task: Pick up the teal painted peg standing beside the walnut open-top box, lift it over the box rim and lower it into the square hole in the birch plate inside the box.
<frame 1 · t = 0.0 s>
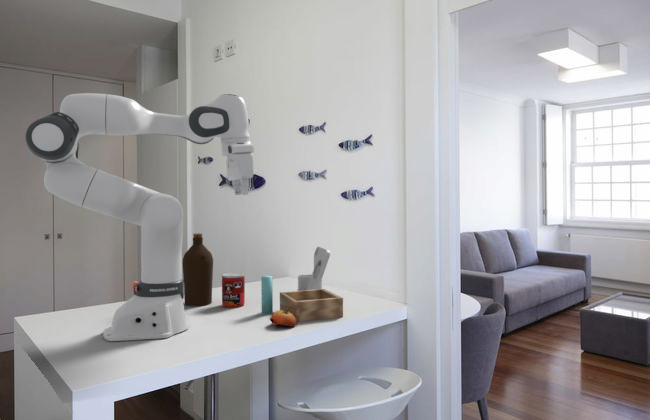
hand: (241, 194, 142), 39 cm above the table, tool pointing down, fingers open, 8 cm apart
box: (310, 313, 153), on the table
canned food: (233, 305, 164), on the table
phone holder: (313, 294, 183), on the table
tomato: (283, 326, 139), on the table
peg: (267, 312, 153), on the table
olive oil: (198, 303, 167), on the table
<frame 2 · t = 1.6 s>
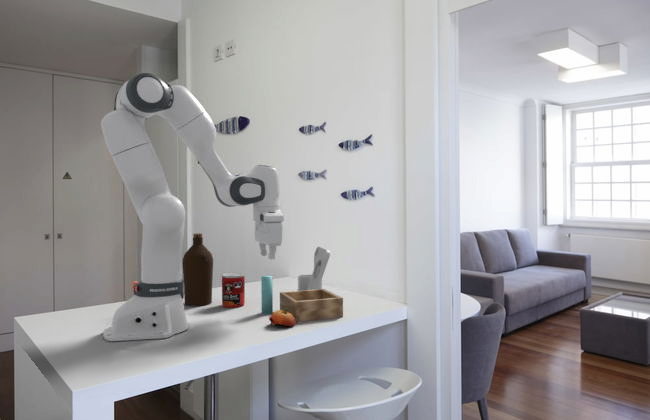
hand: (267, 257, 153), 18 cm above the table, tool pointing down, fingers open, 8 cm apart
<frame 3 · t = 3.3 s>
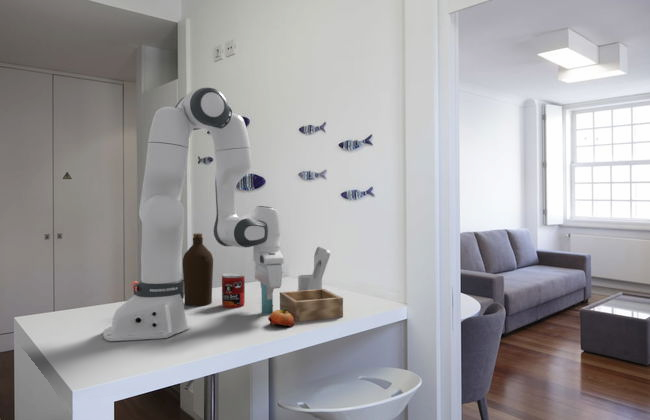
hand: (267, 297, 153), 5 cm above the table, tool pointing down, fingers closed on peg, 4 cm apart
peg: (267, 312, 154), on the table, touching gripper
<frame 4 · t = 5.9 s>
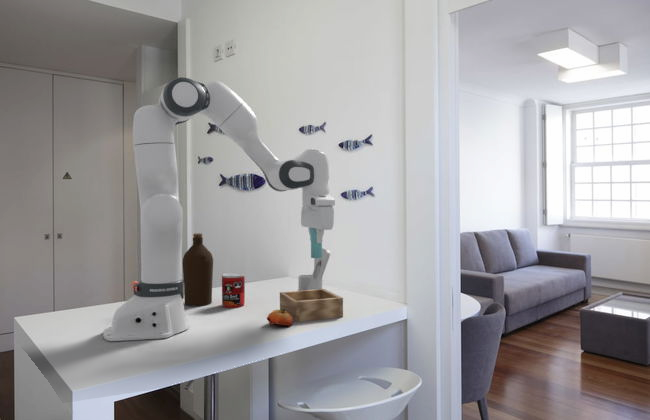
hand: (316, 242, 153), 23 cm above the table, tool pointing down, fingers closed on peg, 4 cm apart
peg: (316, 257, 153), point 18 cm above the table, touching gripper
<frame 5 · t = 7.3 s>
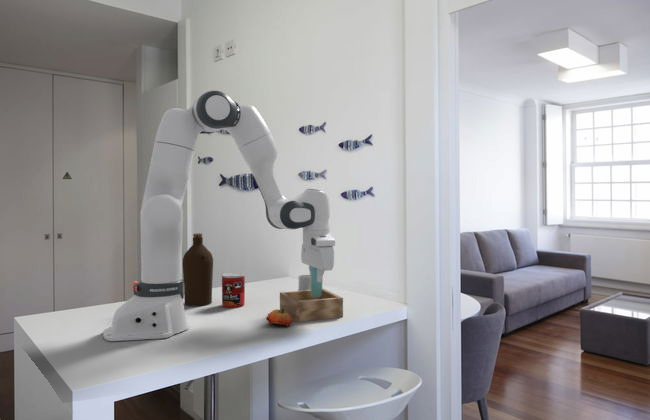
hand: (316, 280, 153), 11 cm above the table, tool pointing down, fingers closed on peg, 4 cm apart
peg: (316, 295, 154), point 6 cm above the table, touching gripper
when the fingers open (6 cm above the table, at t = 8.5 s): peg stays where it is, resting in box.
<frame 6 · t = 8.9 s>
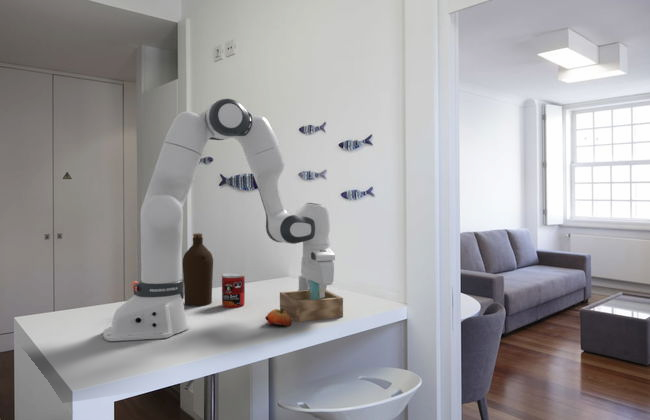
hand: (316, 294, 154), 6 cm above the table, tool pointing down, fingers open, 8 cm apart
peg: (316, 312, 154), resting in box
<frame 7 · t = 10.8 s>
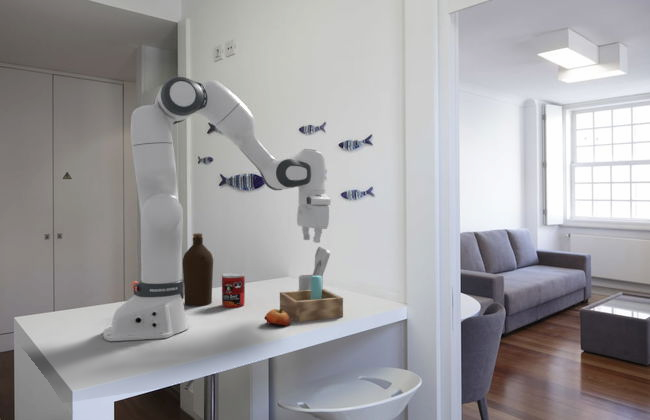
hand: (311, 241, 154), 24 cm above the table, tool pointing down, fingers open, 8 cm apart
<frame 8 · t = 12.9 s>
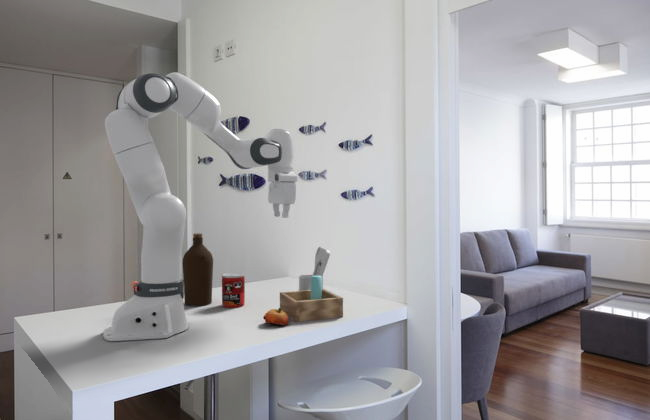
hand: (281, 217, 162), 31 cm above the table, tool pointing down, fingers open, 8 cm apart
at the end: peg 0.0 cm from the target spot on the box, point 0.0 cm above the box's base; peg tilted 0°; the gripper is holding nothing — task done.
